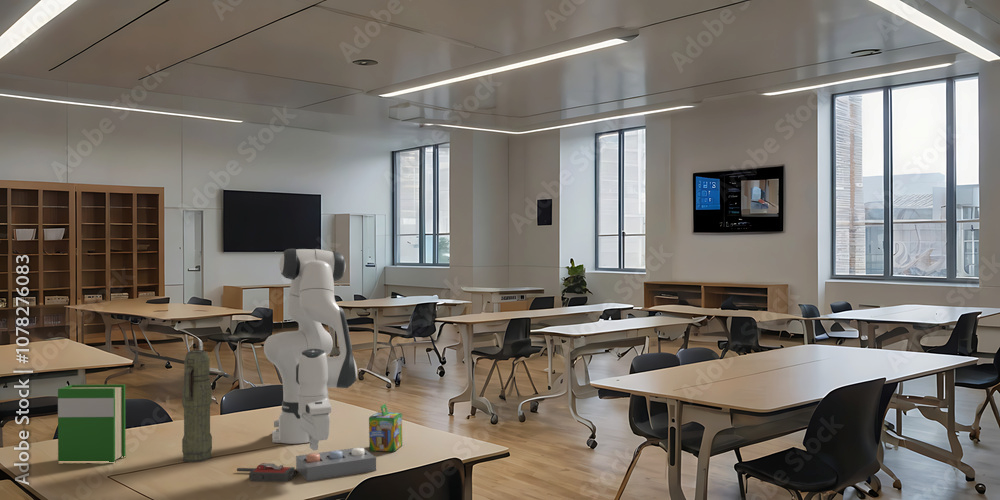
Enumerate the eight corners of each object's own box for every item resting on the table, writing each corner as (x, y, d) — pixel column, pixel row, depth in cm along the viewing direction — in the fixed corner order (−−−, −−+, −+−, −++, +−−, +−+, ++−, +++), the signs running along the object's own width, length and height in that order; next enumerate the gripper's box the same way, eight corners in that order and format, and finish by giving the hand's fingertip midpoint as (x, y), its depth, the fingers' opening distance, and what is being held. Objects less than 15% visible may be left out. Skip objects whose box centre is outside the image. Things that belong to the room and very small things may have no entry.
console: (296, 468, 225) (296, 455, 225) (361, 459, 235) (361, 447, 235) (307, 481, 212) (307, 467, 212) (376, 470, 222) (376, 457, 222)
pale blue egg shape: (327, 461, 224) (327, 451, 224) (340, 459, 226) (340, 449, 226) (331, 464, 221) (331, 454, 221) (344, 462, 223) (344, 452, 223)
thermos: (175, 463, 231) (175, 353, 231) (191, 453, 243) (191, 348, 243) (202, 463, 231) (202, 353, 231) (218, 453, 243) (217, 348, 243)
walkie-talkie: (301, 474, 220) (238, 472, 222) (301, 459, 220) (238, 458, 222) (290, 483, 212) (225, 481, 213) (290, 468, 212) (225, 466, 214)
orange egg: (304, 464, 221) (304, 454, 221) (318, 462, 223) (318, 452, 223) (308, 467, 217) (308, 457, 217) (321, 465, 219) (321, 455, 219)
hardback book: (125, 457, 239) (125, 384, 239) (113, 463, 231) (113, 388, 231) (71, 457, 238) (71, 384, 239) (58, 464, 231) (58, 388, 231)
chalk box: (394, 452, 243) (394, 408, 243) (368, 451, 245) (368, 407, 245) (403, 445, 252) (403, 402, 252) (378, 444, 254) (378, 401, 254)
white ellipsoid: (349, 458, 228) (349, 448, 228) (362, 456, 230) (362, 447, 230) (353, 461, 224) (353, 451, 224) (366, 459, 226) (366, 450, 226)
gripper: (294, 398, 228) (295, 442, 228) (311, 410, 210) (312, 458, 210) (314, 396, 231) (315, 440, 231) (333, 408, 213) (333, 455, 213)
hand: (313, 449), depth 220 cm, fingers closed
